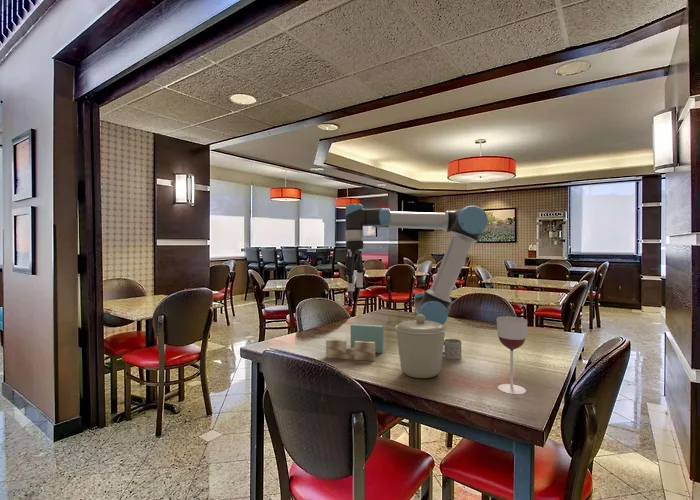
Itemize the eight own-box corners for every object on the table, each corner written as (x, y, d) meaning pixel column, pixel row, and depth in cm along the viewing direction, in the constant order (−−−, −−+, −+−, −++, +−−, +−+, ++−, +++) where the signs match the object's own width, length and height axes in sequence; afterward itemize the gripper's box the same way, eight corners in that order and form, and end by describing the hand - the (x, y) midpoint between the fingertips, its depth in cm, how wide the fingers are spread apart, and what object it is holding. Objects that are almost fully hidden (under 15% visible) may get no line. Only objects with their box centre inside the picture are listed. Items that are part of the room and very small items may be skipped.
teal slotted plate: (352, 349, 166) (351, 324, 166) (383, 351, 163) (383, 325, 162) (350, 350, 164) (350, 325, 164) (382, 352, 160) (382, 326, 160)
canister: (411, 362, 147) (411, 308, 147) (455, 372, 136) (455, 313, 135) (385, 375, 133) (384, 315, 133) (432, 387, 122) (431, 321, 121)
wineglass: (520, 383, 124) (520, 316, 124) (532, 395, 114) (531, 322, 114) (493, 382, 125) (493, 316, 125) (501, 394, 115) (501, 322, 115)
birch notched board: (375, 359, 151) (375, 342, 151) (374, 361, 149) (374, 343, 149) (327, 355, 157) (327, 339, 157) (326, 357, 155) (326, 340, 155)
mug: (461, 355, 156) (461, 339, 156) (461, 360, 149) (461, 343, 149) (436, 353, 159) (436, 337, 158) (435, 358, 152) (435, 341, 152)
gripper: (354, 240, 177) (355, 285, 178) (337, 240, 153) (338, 292, 154) (369, 240, 175) (370, 285, 175) (355, 239, 151) (356, 293, 152)
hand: (355, 289), depth 165 cm, fingers open, 13 cm apart
